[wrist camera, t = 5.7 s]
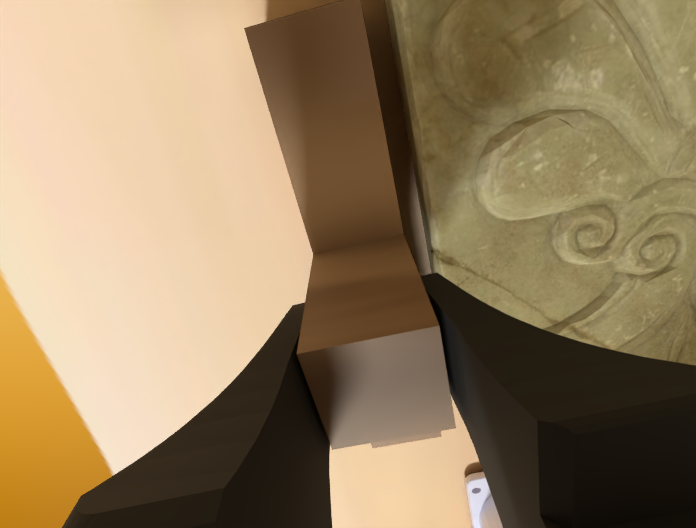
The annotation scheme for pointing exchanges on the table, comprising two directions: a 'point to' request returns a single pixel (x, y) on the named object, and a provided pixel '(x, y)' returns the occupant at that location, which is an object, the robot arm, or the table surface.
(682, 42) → the decorative tile
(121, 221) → the table surface
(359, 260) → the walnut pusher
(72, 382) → the table surface
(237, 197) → the table surface
